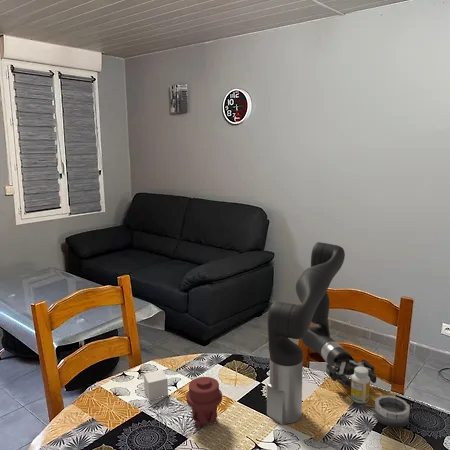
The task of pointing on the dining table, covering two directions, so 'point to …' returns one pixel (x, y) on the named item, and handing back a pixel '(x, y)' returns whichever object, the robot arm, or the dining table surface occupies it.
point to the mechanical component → (204, 400)
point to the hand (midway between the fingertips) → (362, 382)
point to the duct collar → (392, 411)
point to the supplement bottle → (360, 385)
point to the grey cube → (155, 384)
